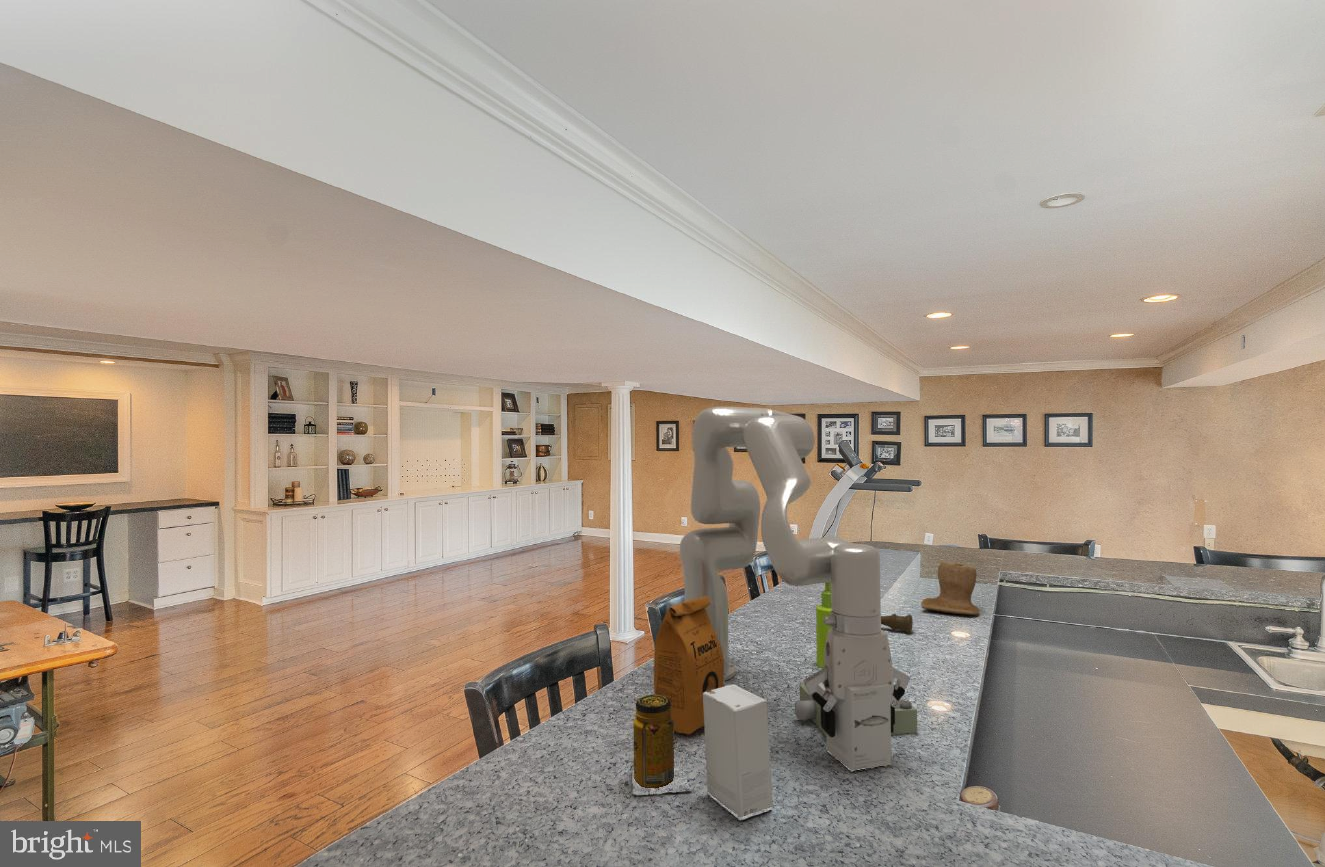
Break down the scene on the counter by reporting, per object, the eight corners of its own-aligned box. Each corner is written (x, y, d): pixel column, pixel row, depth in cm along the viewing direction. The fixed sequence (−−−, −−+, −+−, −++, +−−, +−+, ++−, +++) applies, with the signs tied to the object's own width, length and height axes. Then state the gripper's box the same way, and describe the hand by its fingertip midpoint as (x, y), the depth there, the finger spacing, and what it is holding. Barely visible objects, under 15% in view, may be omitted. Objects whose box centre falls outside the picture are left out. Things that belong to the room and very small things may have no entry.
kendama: (910, 640, 160) (832, 628, 170) (914, 631, 169) (839, 620, 178) (910, 617, 161) (832, 606, 170) (914, 609, 169) (840, 599, 179)
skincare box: (773, 811, 84) (772, 700, 85) (737, 825, 81) (736, 710, 82) (737, 782, 92) (735, 681, 92) (702, 794, 89) (701, 689, 89)
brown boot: (981, 610, 187) (980, 560, 187) (976, 620, 177) (975, 567, 177) (928, 604, 195) (927, 556, 196) (920, 612, 185) (919, 562, 186)
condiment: (630, 771, 95) (629, 692, 96) (685, 768, 96) (684, 689, 96) (632, 797, 88) (632, 712, 88) (691, 794, 89) (690, 709, 89)
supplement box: (851, 774, 94) (849, 690, 94) (825, 751, 101) (824, 673, 101) (893, 767, 96) (891, 684, 96) (865, 745, 103) (863, 668, 103)
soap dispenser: (849, 671, 137) (848, 580, 138) (817, 669, 138) (816, 579, 139) (847, 662, 143) (845, 575, 143) (816, 660, 144) (815, 574, 145)
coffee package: (733, 720, 113) (732, 598, 113) (687, 743, 104) (686, 611, 105) (693, 704, 120) (691, 590, 120) (646, 725, 111) (645, 601, 112)
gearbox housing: (811, 740, 104) (811, 707, 105) (784, 706, 118) (784, 677, 119) (917, 732, 107) (916, 700, 107) (878, 700, 121) (878, 672, 121)
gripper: (812, 632, 94) (814, 746, 93) (919, 626, 96) (921, 738, 96) (795, 618, 101) (797, 724, 101) (895, 614, 104) (897, 717, 103)
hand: (858, 731), depth 98 cm, fingers open, 9 cm apart
